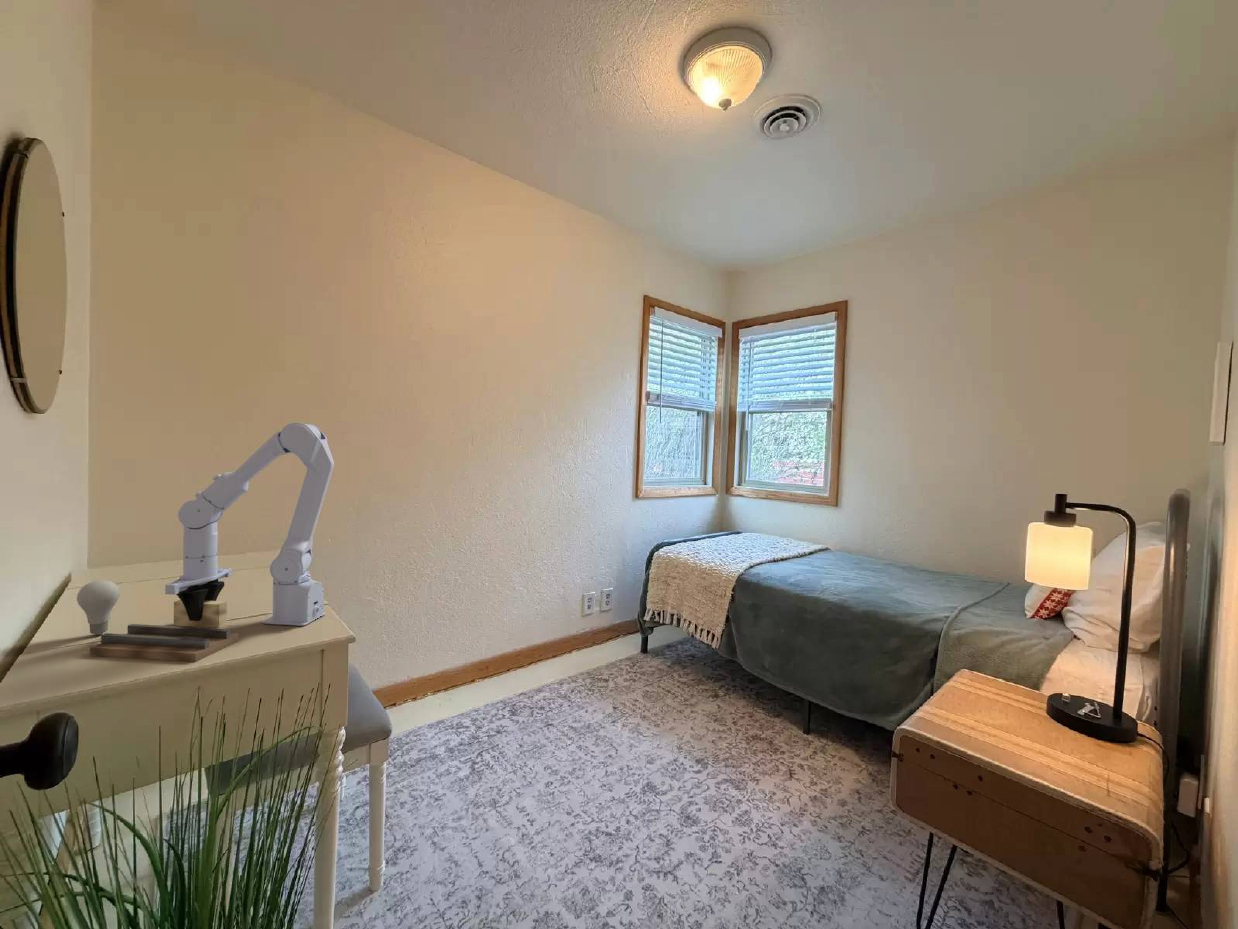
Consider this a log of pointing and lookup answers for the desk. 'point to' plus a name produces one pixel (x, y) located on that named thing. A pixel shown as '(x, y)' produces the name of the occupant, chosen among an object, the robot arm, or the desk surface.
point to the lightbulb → (98, 603)
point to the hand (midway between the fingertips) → (200, 618)
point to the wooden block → (211, 614)
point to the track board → (164, 642)
